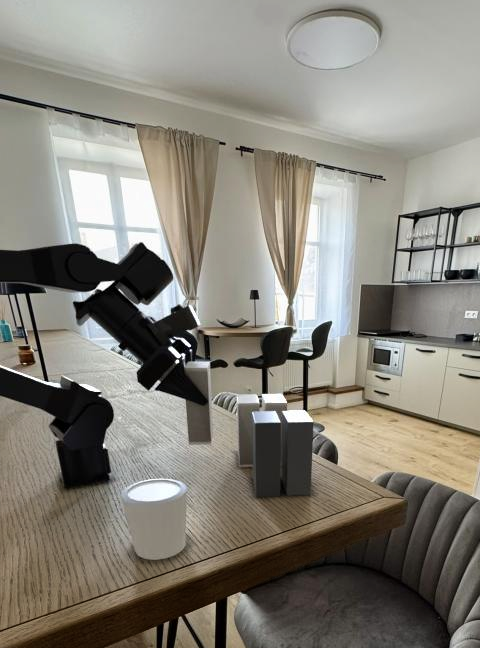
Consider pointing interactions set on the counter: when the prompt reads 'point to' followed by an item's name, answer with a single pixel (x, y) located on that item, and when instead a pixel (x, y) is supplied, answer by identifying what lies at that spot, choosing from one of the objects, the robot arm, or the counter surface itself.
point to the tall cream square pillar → (198, 414)
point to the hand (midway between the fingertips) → (207, 398)
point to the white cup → (156, 517)
